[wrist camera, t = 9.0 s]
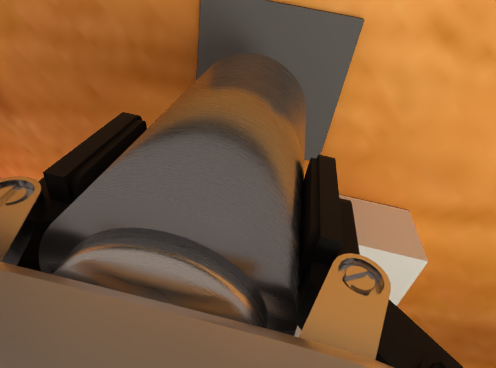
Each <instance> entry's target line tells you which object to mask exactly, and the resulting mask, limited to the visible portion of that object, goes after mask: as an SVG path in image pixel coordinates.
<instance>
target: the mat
mask: <svg viewBox="0 0 496 368" xmlns="http://www.w3.org/2000/svg"><path fill="white" fill-rule="evenodd" d="M363 22H364V19H362V18H357V17H352V16H347V15H342V14H336V13H331V12H326V11H321V10H316V9H310V8H305V7H300V6H295V5H290V4H284V3H279V2H274V1H269V0H201V5H200V23H199V41H198V60H197V78H196V80H197V79H198V78H200V77H201V76H202V75H203V74H204V73H205V72H206V71H207V70H208V69H209V68H210V67H211V66H212V65H213V64H214V63H216V62H217V61H219V60H221V59H223V58H225V57H227V56H230V55H233V54H239V53H255V54H260V55H264V56H267V57H270V58H272V59H274V60H276V61H278V62H279V63H281V64H282V65H283V66H285V67H286V68H287V69H288V70H289V71H290V72H291V73H292V74H293V75H294V77H295V78H296V79H297V81H298V82H299V84H300V86H301V88H302V91H303V93H304V97H305V101H306V131H305V155H304V159H305V160H310V159H311V157H312V158H316V159H317V156H318V155H320V154H321V151H322V148H323V145H324V142H325V139H326V136H327V133H328V130H329V127H330V124H331V121H332V118H333V114H334V111H335V108H336V105H337V102H338V99H339V96H340V93H341V90H342V87H343V84H344V81H345V78H346V75H347V72H348V68H349V65H350V62H351V59H352V56H353V53H354V50H355V47H356V44H357V41H358V38H359V35H360V32H361V29H362V25H363Z"/></svg>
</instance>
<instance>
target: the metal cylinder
mask: <svg viewBox="0 0 496 368" xmlns="http://www.w3.org/2000/svg"><path fill="white" fill-rule="evenodd" d="M305 131H306V101H305V97H304V93H303V91H302V88H301V86H300V84H299V82H298V81H297V79H296V78H295V77H294V75H293V74H292V73H291V72H290V71H289V70H288V69H287V68H286V67H285V66H283V65H282V64H281V63H279V62H278V61H276V60H274V59H272V58H270V57H267V56H264V55H260V54H255V53H239V54H233V55H230V56H227V57H225V58H223V59H221V60H219V61H217V62H216V63H214V64H213V65H212V66H211V67H210V68H209V69H208V70H207V71H206V72H205V73H204V74H203V75H202V76H201V77H200V78H198V79H197V80H196V81H195V82H194V83H193V84H192V85H191V86H190V87H189V88H188V89H187V90H186V91H185V92H184V93H183V94H182V95H181V96H180V97H179V98H178V99H177V100H176V101H175V102H174V103H173V104H172V105H171V106H170V107H169V108H168V109H167V110H166V111H165V112H164V113H163V114H162V115H161V116H160V117H159V118H158V119H157V120H156V121H155V122H154V123H153V124H152V125H151V126H150V127H149V128H148V129H147V130H146V131H145V132H144V133H143V134H142V135H141V136H140V137H139V138H138V139H137V140H136V141H135V142H134V143H133V144H132V145H131V146H130V147H128V148H127V149H126V150H125V151H124V152H123V153H122V154H121V155H120V156H119V157H118V158H117V159H116V160H115V161H114V162H113V163H112V164H111V165H110V166H109V167H108V168H107V169H106V170H105V171H104V172H103V173H102V174H101V175H100V176H99V177H98V178H97V179H96V180H95V181H94V182H93V183H92V184H91V185H90V186H89V187H88V188H87V189H86V190H85V191H84V192H83V193H82V194H81V195H80V196H79V197H78V198H77V199H76V200H75V201H74V202H73V203H72V204H71V205H70V206H69V207H68V208H67V209H66V210H65V211H64V212H63V213H62V214H61V215H59V216H58V217H57V218H56V219H55V220H54V221H53V222H52V223H51V224H50V226H49V227H48V229H47V230H46V231H45V233H44V235H43V237H42V240H41V242H40V247H39V265H40V269H41V272H44V273H48V274H52V275H56V276H60V277H64V278H68V279H72V280H76V281H80V282H84V283H88V284H92V285H96V286H100V287H104V288H108V289H112V290H116V291H120V292H124V293H128V294H132V295H136V296H140V297H144V298H148V299H152V300H156V301H160V302H164V303H168V304H172V305H176V306H180V307H184V308H188V309H192V310H196V311H199V312H203V313H207V314H211V315H215V316H219V317H223V318H227V319H231V320H235V321H238V322H242V323H246V324H250V325H254V326H258V327H262V328H266V329H270V330H274V331H277V332H281V333H285V334H288V335H292V336H294V335H295V332H296V329H297V321H298V300H299V276H300V252H301V228H302V204H303V179H304V155H305Z"/></svg>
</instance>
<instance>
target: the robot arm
mask: <svg viewBox="0 0 496 368" xmlns="http://www.w3.org/2000/svg"><path fill="white" fill-rule="evenodd" d="M146 130H147V127H146V122H145V121H142V118H141V117H140V116H138V115H134V114H129V113H124V112H123V113H121V114H120V115H118V116H117V117H116V118H114V119H113V120H112V121H110V122H109V123H108V124H106V125H105V126H104V127H102V128H101V129H100V130H98V131H97V132H96V133H94V134H93V135H92V136H91V137H89V138H88V139H87V140H85V141H84V142H83V143H81V144H80V145H79V146H77V147H76V148H75V149H73V150H72V151H71V152H69V153H68V154H67V155H65V156H64V157H63V158H61V159H60V160H59V161H57V162H56V163H55V164H53V165H52V166H51V167H49V168H48V169H47V170H46V171H44V172H43V174H44V178H42V179H41V180H40V181H39V182H38V181H36V180H35V179H32V178H29V177H21V176H19V177H8V178H3V179H0V368H463V367H462V366H461V365H460V364H459V363H458V362H457V361H456V360H455V359H454V358H452V357H451V356H450V355H449V354H448V353H447V352H446V351H445V350H444V349H443V348H442V347H441V346H439V345H438V344H437V343H436V342H435V341H434V340H433V339H432V338H431V337H430V336H429V335H427V334H426V333H425V332H424V331H423V330H422V329H421V328H420V327H419V326H418V325H417V324H415V323H414V322H413V321H412V320H411V319H410V318H409V317H408V316H407V315H406V314H405V313H404V312H402V311H401V310H400V309H399V308H398V307H397V306H396V305H395V304H394V303H393V302H392V301H390V300H389V296H390V292H391V283H390V281H389V278H388V276H387V274H386V273H385V272H384V270H383V269H382V268H381V267H380V266H379V265H378V264H377V263H375V262H374V261H372V260H371V259H369V258H367V257H364V256H362V255H360V252H359V246H358V239H357V233H356V226H355V220H354V213H353V207H352V202H351V201H350V200H346V199H342V198H339V191H338V181H337V172H336V162H335V158H332V157H327V156H322V155H318V156H317V159H316V158H312V157H311V159H310V162H309V165H308V168H307V171H306V175H305V178H304V181H303V204H302V228H301V252H300V276H299V300H298V321H297V326H298V327H299V328H300V329H301V333H300V336H299V337H296V336H292V335H288V334H285V333H281V332H277V331H274V330H270V329H266V328H262V327H258V326H254V325H250V324H246V323H242V322H238V321H235V320H231V319H227V318H223V317H219V316H215V315H211V314H207V313H203V312H199V311H196V310H192V309H188V308H184V307H180V306H176V305H172V304H168V303H164V302H160V301H156V300H152V299H148V298H144V297H140V296H136V295H132V294H128V293H124V292H120V291H116V290H112V289H108V288H104V287H100V286H96V285H92V284H88V283H84V282H80V281H76V280H72V279H68V278H64V277H60V276H56V275H52V274H48V273H44V272H41V269H40V265H39V247H40V242H41V240H42V237H43V235H44V233H45V231H46V230H47V229H48V227H49V226H50V224H51V223H52V222H53V221H54V220H55V219H56V218H57V217H58V216H59V215H61V214H62V213H63V212H64V211H65V210H66V209H67V208H68V207H69V206H70V205H71V204H72V203H73V202H74V201H75V200H76V199H77V198H78V197H79V196H80V195H81V194H82V193H83V192H84V191H85V190H86V189H87V188H88V187H89V186H90V185H91V184H92V183H93V182H94V181H95V180H96V179H97V178H98V177H99V176H100V175H101V174H102V173H103V172H104V171H105V170H106V169H107V168H108V167H109V166H110V165H111V164H112V163H113V162H114V161H115V160H116V159H117V158H118V157H119V156H120V155H121V154H122V153H123V152H124V151H125V150H126V149H127V148H128V147H130V146H131V145H132V144H133V143H134V142H135V141H136V140H137V139H138V138H139V137H140V136H141V135H142V134H143V133H144V132H145V131H146Z"/></svg>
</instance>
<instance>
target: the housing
mask: <svg viewBox="0 0 496 368" xmlns="http://www.w3.org/2000/svg"><path fill="white" fill-rule="evenodd" d="M339 198H342V199H346V200H350V201H351V202H352V207H353V213H354V220H355V226H356V233H357V239H358V246H359V252H360V255H362V256H364V257H367V258H369V259H371V260H372V261H374V262H375V263H377V264H378V265H379V266H380V267H381V268H382V269H383V270H384V272H385V273H386V274H387V276H388V278H389V281H390V283H391V292H390V296H389V300H390V301H392V302H393V303H394V304H395V305H396V306H397V305H398V303H399V302H400V300H401V299H402V298H403V296H404V295H405V293H406V292H407V291H408V289H409V288H410V286H411V285H412V284H413V282H414V281H415V279H416V278H417V277H418V275H419V274H420V272H421V271H422V270H423V268H424V267H425V265H426V264H427V263H428V259H427V257H426V254H425V251H424V249H423V246H422V243H421V241H420V238H419V235H418V233H417V230H416V228H415V225H414V222H413V220H412V217H411V214H410V212H409V210H405V209H400V208H396V207H391V206H387V205H383V204H378V203H374V202H369V201H365V200H361V199H356V198H352V197H347V196H343V195H339ZM300 333H301V329H300V328H299V327H298V326H297V329H296V332H295V335H294V336H296V337H299V336H300Z"/></svg>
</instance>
